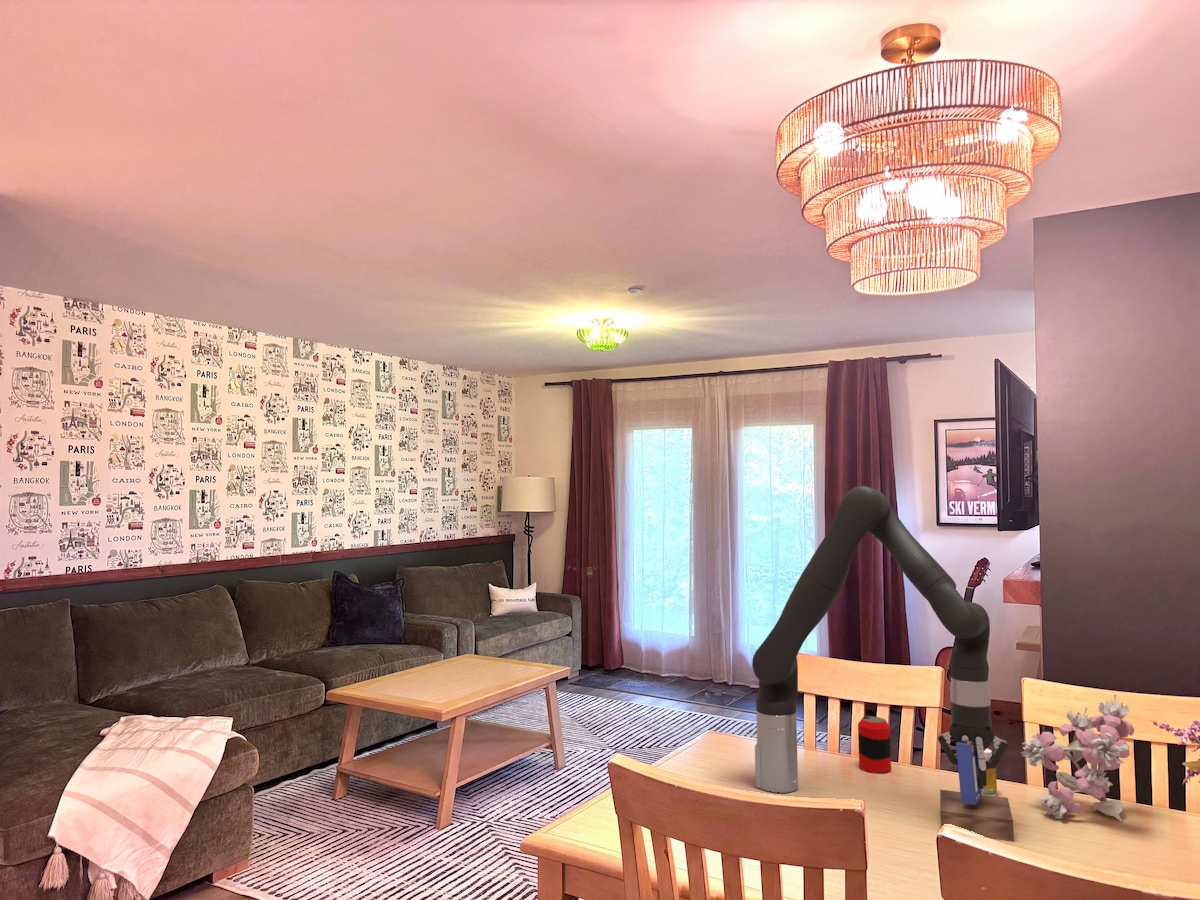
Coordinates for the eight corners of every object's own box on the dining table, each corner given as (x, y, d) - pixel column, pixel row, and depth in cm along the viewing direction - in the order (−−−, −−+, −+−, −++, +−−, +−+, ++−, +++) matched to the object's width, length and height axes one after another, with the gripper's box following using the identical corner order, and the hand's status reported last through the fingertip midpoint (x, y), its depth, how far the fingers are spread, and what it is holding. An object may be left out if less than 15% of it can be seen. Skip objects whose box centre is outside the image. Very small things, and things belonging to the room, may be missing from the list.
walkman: (976, 805, 159) (970, 743, 161) (961, 803, 161) (955, 741, 162) (984, 794, 165) (978, 734, 167) (969, 792, 167) (964, 733, 168)
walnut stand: (941, 831, 159) (940, 810, 159) (940, 808, 171) (940, 789, 171) (1013, 841, 154) (1013, 820, 154) (1008, 817, 166) (1007, 797, 166)
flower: (1017, 778, 185) (1007, 690, 178) (1129, 779, 177) (1124, 687, 170) (1035, 848, 168) (1024, 753, 160) (1160, 853, 160) (1155, 753, 152)
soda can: (868, 762, 203) (866, 714, 204) (896, 768, 198) (895, 719, 198) (853, 768, 198) (852, 719, 199) (882, 776, 192) (881, 725, 193)
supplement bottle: (1000, 798, 177) (998, 754, 178) (974, 797, 178) (972, 752, 179) (993, 790, 182) (991, 747, 183) (968, 788, 183) (966, 745, 184)
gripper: (1006, 699, 165) (1009, 785, 164) (934, 694, 171) (937, 776, 169) (1009, 708, 158) (1013, 797, 157) (934, 701, 164) (937, 788, 162)
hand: (973, 786), depth 163 cm, fingers closed on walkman, 2 cm apart
